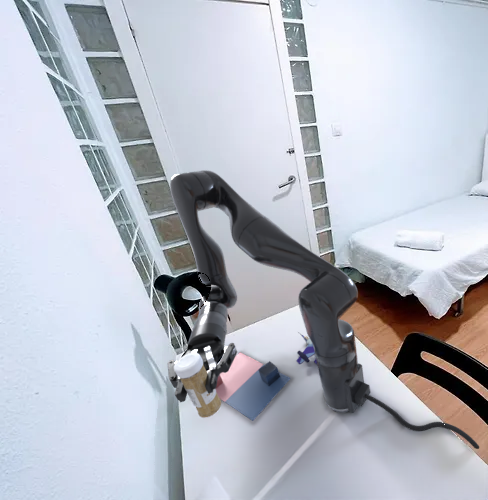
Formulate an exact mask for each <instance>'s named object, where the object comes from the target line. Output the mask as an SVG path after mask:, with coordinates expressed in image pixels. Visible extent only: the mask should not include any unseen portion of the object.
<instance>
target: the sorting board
mask: <svg viewBox="0 0 488 500" xmlns="http://www.w3.org/2000/svg"><path fill="white" fill-rule="evenodd" d="M264 365H265V364H264V363H262V362H260V361H258V360H256V359H254V358H252V357H250V356H249V355H247V354H244V353H243V352H241V351H240V352H239V353H237V354H236V356H235V358H234V360H233V362H232V365H231V367H230V369H229V371H228V372H226V373H223V372H222V373H221V374H220V376H221V378H222V381H223V383H222V384H221V385H220V386H219V387H217V388H216V392H217V395H218V397H219V398H220V399H221V401H223V402H224V403H225V404H227V405H228V406H230V407H231V408H232V409H234V410H236V411H237V412H239V413H240V414H242V415H243V416H245V417H246V418H247V419H249V420H250V421H252V422H253V421H255V419H256V418H257V417H258V416H259V415H260V414H261V413H262V412H263V411H264V410H265V408H267V406H268V405H269V404H270V403H271V401H272V400H273V399H274V398H275V397H276V396H277V395H278V394H279V393H280V391H281V390H282V389H283V388H284V387H285V386H286V384H288V382H290V380H291V377H289V376H288V375H286V374H284V373H282V372H280V371H279V375H280V377H279V378H278V379H277V380H276V381H275V382H273V383H272V384H271V385H270V386H268V385H267V384H266V383H265V382H264V381H263V380H262V379H261V376H260V373H259V371H258V370H259V369H260V368H261V367H263V366H264Z"/></svg>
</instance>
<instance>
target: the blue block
mask: <svg viewBox="0 0 488 500" xmlns="http://www.w3.org/2000/svg"><path fill="white" fill-rule="evenodd" d="M258 371H259V373H260V376H261V379H262V380H263V381H264V382H265V383H266V384H267V385H268V386H270V385H271V384H272V383H273V382H275V381H276V380H277V379H278V378H279V377H280V375H279V372H280V371H279V368H278V366H277V365H275V364H274V363H273V362H272V361H270V360H269V361H267V363H266V364H264V366H263V367H261V368H260V369H259V370H258Z"/></svg>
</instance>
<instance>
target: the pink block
mask: <svg viewBox="0 0 488 500" xmlns="http://www.w3.org/2000/svg"><path fill="white" fill-rule="evenodd" d="M206 371H207V373H208V371H210V369H208V370H206ZM222 383H223V381H222V378H221V376H220V375H219V377H218V380H217V386H216V388H217V387H219V386H220V385H221V384H222ZM216 388H215V389H216Z"/></svg>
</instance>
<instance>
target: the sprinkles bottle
mask: <svg viewBox="0 0 488 500" xmlns="http://www.w3.org/2000/svg"><path fill="white" fill-rule="evenodd" d="M184 355H185V354H184ZM184 355H182V356H181V357H180V358H178V360H176V361H177V362H176V361H175V362H176V363H175V365H174V370H175V373H176V375H177V376H178V377H179V378H180V379H181V381H182V383H183V385H184V388H185V390H186V391H187V395H188V397H189V399H190V401H191V402H192V405H193V406H194V407H195V409H196V411H197V414H198V416H199V417H200V418H203V419H206V418H210V417H212V416H213V415H215V414H216V413H217V412H218V411H219V410H220V409H221V406H222V400H221V399H220V398H219V397H218V395H217V392H216V389H213V392H212V393H209V394H208V392H207V390H206V387H205V384H206V379H207V374H208V373H207V371H208V370H207V369H205V367H204V365H203V360H202V358H201V356H200V355H199V354H198V353H190V354H187V355H185V356H184Z"/></svg>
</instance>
